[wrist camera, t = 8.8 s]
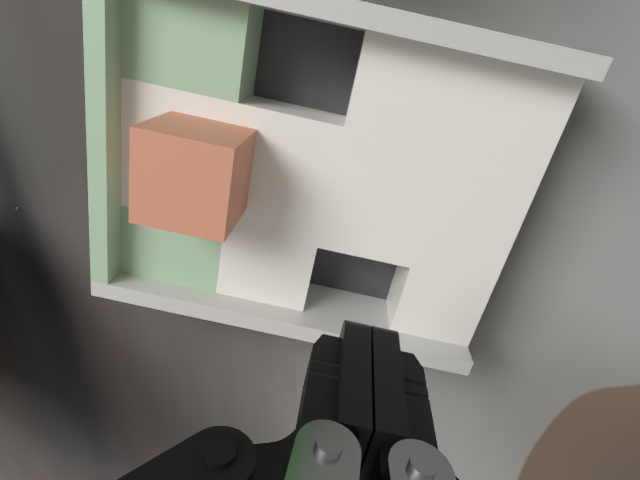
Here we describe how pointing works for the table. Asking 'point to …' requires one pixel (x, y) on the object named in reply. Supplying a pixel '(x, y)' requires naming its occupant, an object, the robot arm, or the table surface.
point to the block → (189, 174)
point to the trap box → (328, 161)
